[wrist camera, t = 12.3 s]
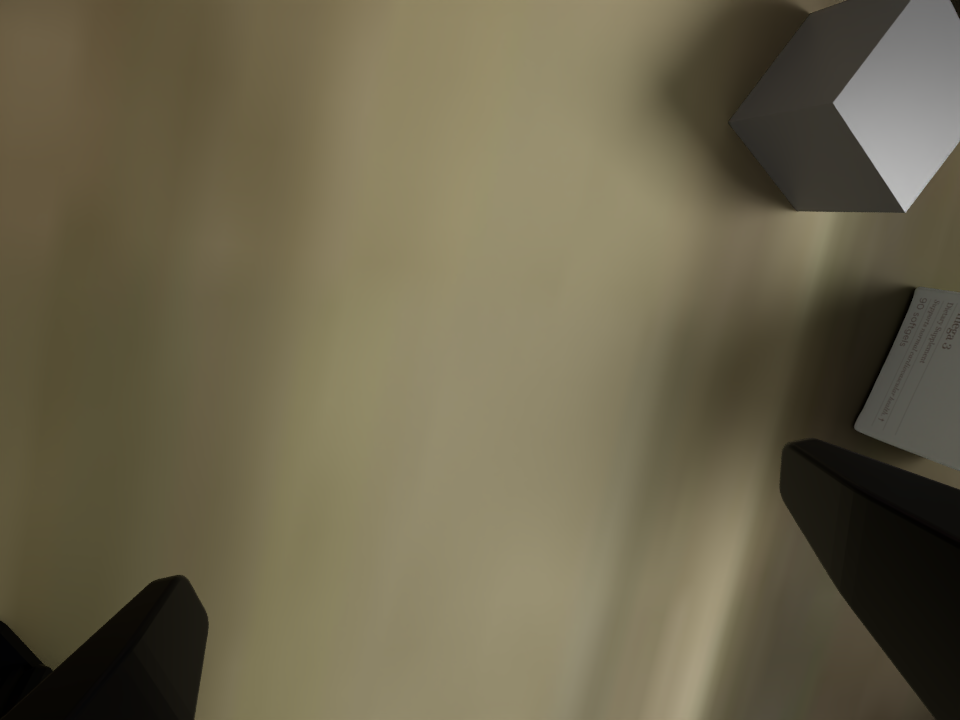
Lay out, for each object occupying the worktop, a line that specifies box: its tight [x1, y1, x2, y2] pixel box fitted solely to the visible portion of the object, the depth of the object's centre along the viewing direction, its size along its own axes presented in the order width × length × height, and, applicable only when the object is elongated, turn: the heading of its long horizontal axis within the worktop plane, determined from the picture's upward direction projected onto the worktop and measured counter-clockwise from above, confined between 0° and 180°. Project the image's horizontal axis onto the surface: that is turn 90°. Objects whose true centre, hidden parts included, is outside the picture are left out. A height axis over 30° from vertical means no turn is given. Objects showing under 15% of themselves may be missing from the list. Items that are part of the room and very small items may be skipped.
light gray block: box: [728, 0, 960, 213], centre depth 20 cm, size 5×5×4 cm
